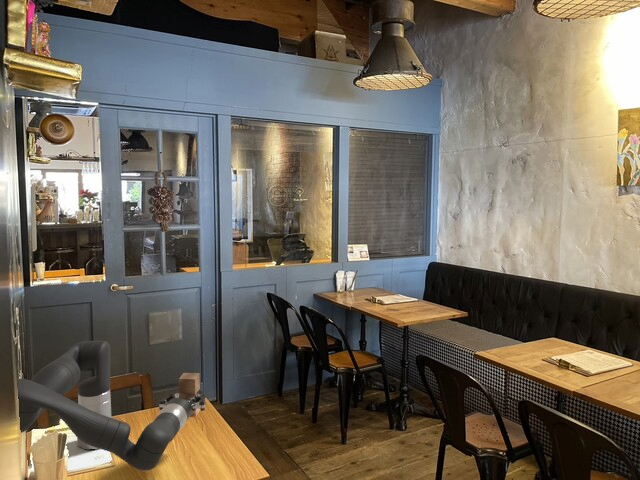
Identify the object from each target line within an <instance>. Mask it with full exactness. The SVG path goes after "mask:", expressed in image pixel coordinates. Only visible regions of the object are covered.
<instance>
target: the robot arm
mask: <svg viewBox="0 0 640 480" xmlns="http://www.w3.org/2000/svg"><path fill="white" fill-rule="evenodd" d="M111 355H112V354H111V345H110V343H109V342H108V341H106V340H82V341H78V342H76V343H75V344H74V345H72V346H71V347H69V349H68V350H67V351H66V352H65V353H64V354H63V355H61V356H59V357H58V358H56V359H55V360H53V361H51V362H50V363H48V364H47V365H45V366H43V367H42V368H41V369H40V370H39V371H37V372H36V373H35V375H34V376H33V377H32V378H31V379H27V378H26V379H25V378H18V379H19V380H18V399H19V417H20V430H21V433H20V434H22V433H24V432H26V431H28V430H29V428H31V426H32V425H34V422H36V421H37V419H38V418H39V417H40V416H41V415H42V414H43V413H44V412H45V411H46V410H47V411H48V412H51V413H53V414H54V415H56V417H58V418H60V419H61V420H62V422H64V424H65V425H66V426H67V427H68V428H69V429H70V431H71V432H72V433H73V435H74V436H75V437H76V442H77V443H76V444H77V448H82V449H83V450H85V449H95V450H103V451H106V452H110V453H112V454H113V455H115V456H116V457H118V458H120V459H121V460H122V461H124V462H125V463H126V464H128V465H130V466H131V467H133V468H134V469H136V470H138V471H143V472H144V471H151V470H152V469H154V468H156V466H158V464H159V462H160V460H161V459H162V456H163V454H164V452H165V450H166V449H167V447H168V445H169V444H170V443H171V442H172V441H173V440H174V438H175V437H176V436H177V434H178V433H179V432H180V431H181V430H182V429H183V427H184V426H185V425H186V423H187V422H188V421H189V418H191V417H190V415H191V412H192V411H194V410H195V409H198V408H199V409H200V411H201V412H203V411H205V410H206V394H204V391H203V390H202V389H201V388H200V389H199V391H198V392H197V393H196V395H194V396H193V395H192V396H190V397H188V398H185V399H184V398H179V390H178V391H177V393H175V394H172V393H169V394H167V395H165V397H163V398H162V399H160V400H159V401H158V406H159V407H158V408H159V412H158V413H157V416H156V417H155V419H154V420H153V421H151V422H150V423H148V424H147V425H146V426H145V428H143V430H142V431H141V434H140V435H139V437H138V439H137V440H136V443H134V442H132V441H131V439H129V438H130V433H131V425H130V424H129V423H127V422H124V421H122V420H118V419H115V418H112V405H111V402H112V401H111V400H112V398H111ZM81 372H95V375H94V376H92V377H91V376H90V377H88V378H86V379H84V380H82V381H81V382H79V381H80V379H81ZM77 384H78V385H77ZM76 386H77V398H78V399H77V401H78V402H75V401H74V400H72V399H70V398H68V397H67V396H65V395H67V394H69V392H71V390H73V389H74V388H75V387H76ZM98 448H99V449H98Z"/></svg>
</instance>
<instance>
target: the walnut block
mask: <svg viewBox="0 0 640 480" xmlns="http://www.w3.org/2000/svg"><path fill="white" fill-rule="evenodd" d="M200 374H201V373H200V372H183V373H182V374H181V375H180V377H178V391H179V398H184V399H185V398H188V397H190V396H192V395H193V396H194V395H196V393H197V392H198V391H199V389H200V390H201V382H200V381H201V380H200V378H201V377H200ZM200 411H201V410H200V409H199V408H198V409H195V410H194V411H192V412H191V415H190V417H189V418H196V417H197V416H198V414H199V412H200Z"/></svg>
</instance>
